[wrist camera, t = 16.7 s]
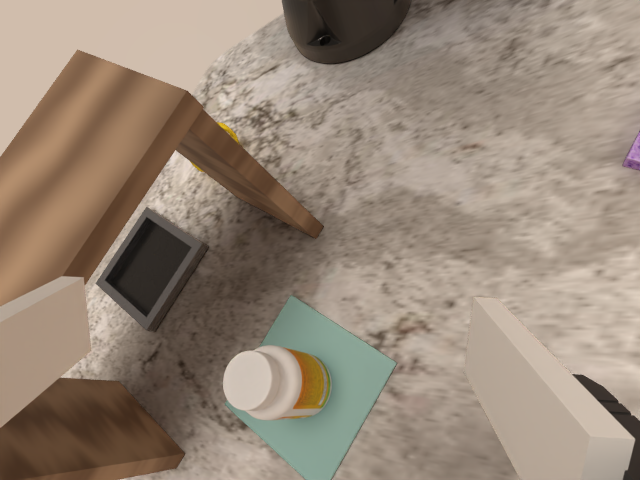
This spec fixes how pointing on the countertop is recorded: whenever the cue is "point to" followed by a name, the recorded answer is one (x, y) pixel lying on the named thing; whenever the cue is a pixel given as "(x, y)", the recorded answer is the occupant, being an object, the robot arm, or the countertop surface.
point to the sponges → (634, 155)
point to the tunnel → (102, 244)
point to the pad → (345, 399)
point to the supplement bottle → (277, 383)
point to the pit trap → (151, 268)
